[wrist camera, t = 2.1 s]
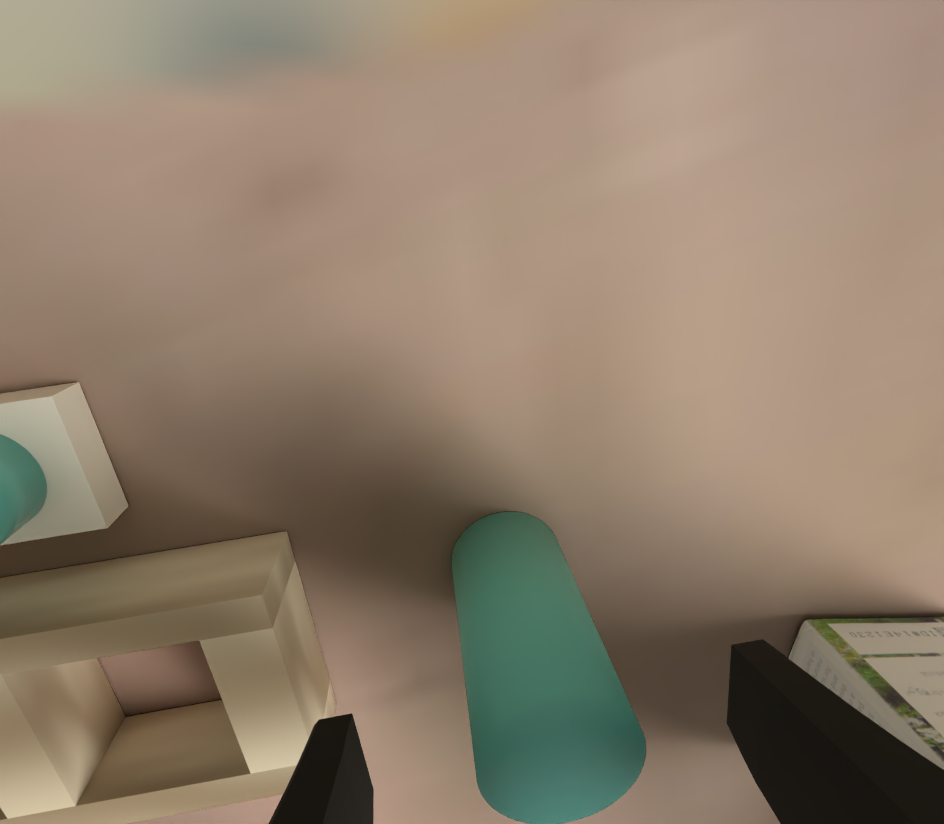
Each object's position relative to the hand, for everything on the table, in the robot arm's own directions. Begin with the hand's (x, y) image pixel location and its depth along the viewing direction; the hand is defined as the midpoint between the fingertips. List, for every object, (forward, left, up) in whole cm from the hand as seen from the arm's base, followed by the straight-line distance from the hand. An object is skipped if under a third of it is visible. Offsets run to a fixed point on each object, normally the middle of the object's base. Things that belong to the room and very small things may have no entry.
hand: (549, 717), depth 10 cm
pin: (0, 0, -5) cm, 5 cm away
